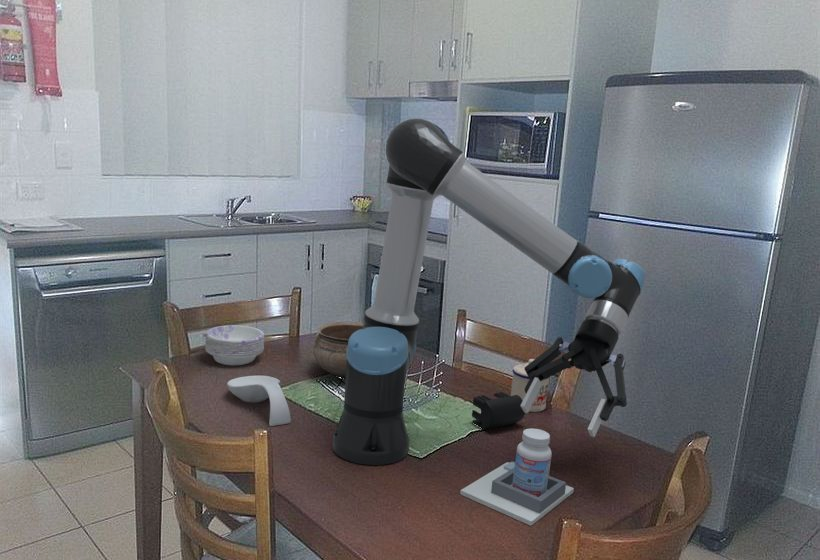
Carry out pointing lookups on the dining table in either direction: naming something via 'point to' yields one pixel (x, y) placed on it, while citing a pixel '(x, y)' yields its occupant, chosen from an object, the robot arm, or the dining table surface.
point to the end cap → (497, 410)
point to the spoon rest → (263, 395)
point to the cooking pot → (334, 346)
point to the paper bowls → (234, 344)
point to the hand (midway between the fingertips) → (556, 421)
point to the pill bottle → (532, 462)
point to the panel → (515, 495)
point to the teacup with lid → (520, 383)
